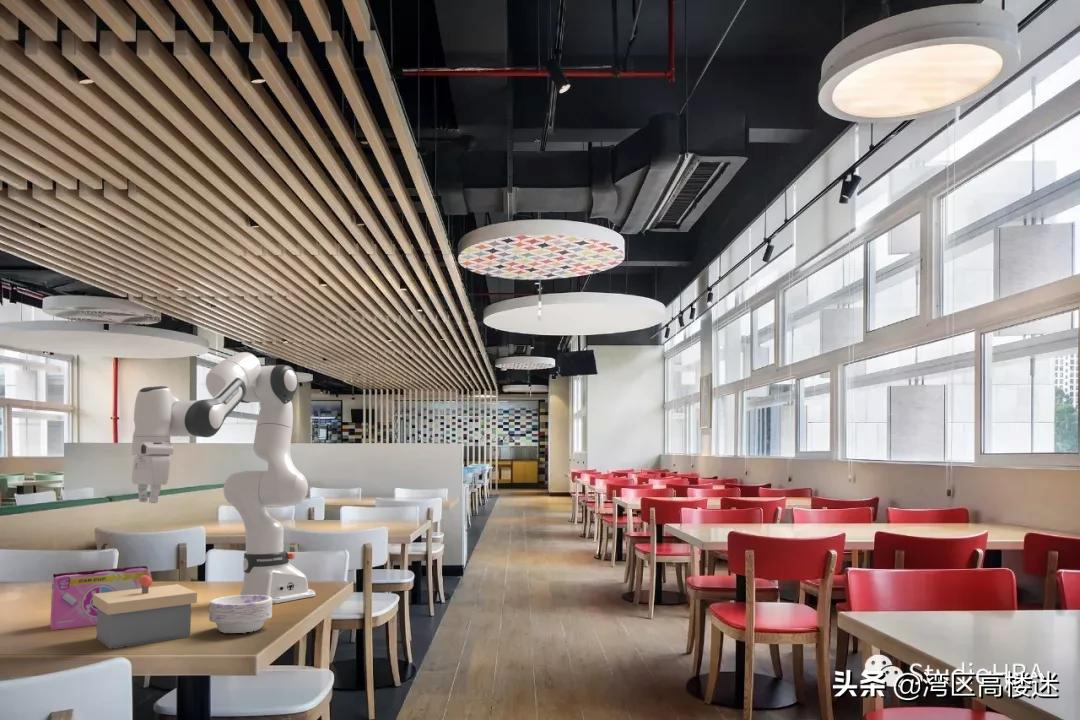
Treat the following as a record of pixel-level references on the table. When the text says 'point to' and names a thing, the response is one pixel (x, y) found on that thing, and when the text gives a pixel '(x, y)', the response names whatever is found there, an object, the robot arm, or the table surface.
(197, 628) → the table surface
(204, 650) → the table surface
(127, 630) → the carton
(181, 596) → the lid
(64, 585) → the gum box
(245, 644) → the table surface
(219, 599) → the paper bowls
